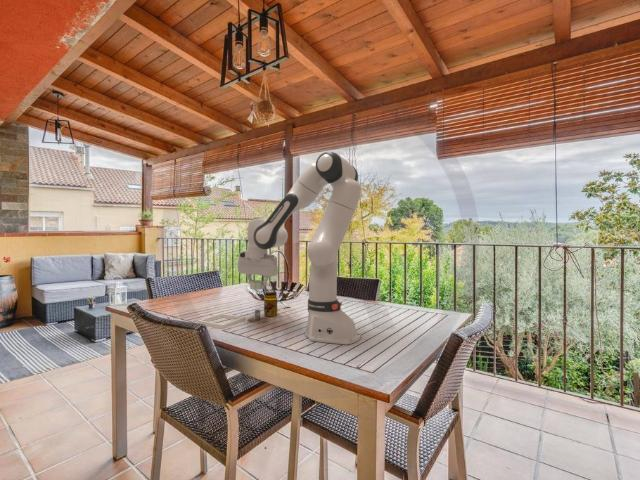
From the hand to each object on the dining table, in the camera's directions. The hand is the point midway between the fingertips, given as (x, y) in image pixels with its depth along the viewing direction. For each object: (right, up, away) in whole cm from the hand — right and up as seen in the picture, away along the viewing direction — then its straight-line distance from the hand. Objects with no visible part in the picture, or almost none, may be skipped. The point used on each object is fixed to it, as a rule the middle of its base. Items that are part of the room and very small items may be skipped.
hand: (257, 284), depth 155 cm
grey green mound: (0, -17, +1) cm, 17 cm away
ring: (0, -2, 0) cm, 2 cm away
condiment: (+5, -17, +10) cm, 20 cm away
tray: (-15, -17, -4) cm, 23 cm away
